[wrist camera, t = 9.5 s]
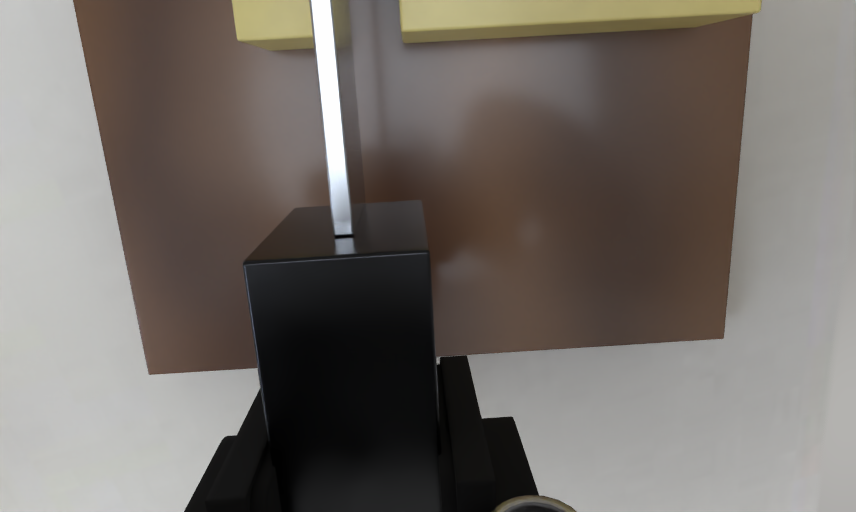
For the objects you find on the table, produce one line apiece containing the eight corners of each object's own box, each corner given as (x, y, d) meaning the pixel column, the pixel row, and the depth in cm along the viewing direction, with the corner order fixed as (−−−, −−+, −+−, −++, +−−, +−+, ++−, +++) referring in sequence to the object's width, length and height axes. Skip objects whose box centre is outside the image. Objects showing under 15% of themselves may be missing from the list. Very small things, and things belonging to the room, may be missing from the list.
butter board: (771, -454, 14) (799, -495, 13) (708, 326, 19) (724, 339, 18) (9, -420, 14) (-21, -460, 13) (161, 361, 19) (148, 375, 18)
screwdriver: (445, 587, 13) (459, 762, 10) (340, 596, 13) (317, 774, 10) (380, -508, 8) (361, -952, 5) (208, -501, 8) (59, -944, 5)
